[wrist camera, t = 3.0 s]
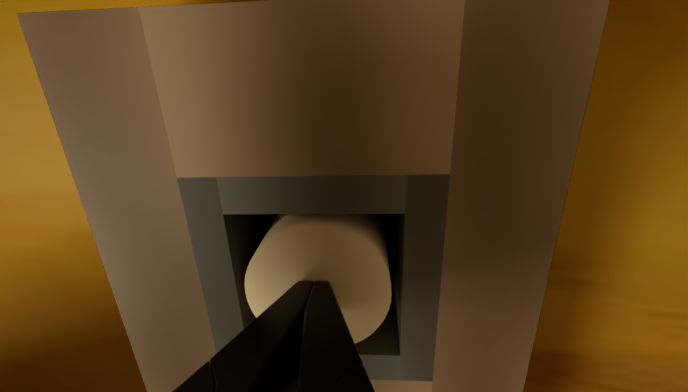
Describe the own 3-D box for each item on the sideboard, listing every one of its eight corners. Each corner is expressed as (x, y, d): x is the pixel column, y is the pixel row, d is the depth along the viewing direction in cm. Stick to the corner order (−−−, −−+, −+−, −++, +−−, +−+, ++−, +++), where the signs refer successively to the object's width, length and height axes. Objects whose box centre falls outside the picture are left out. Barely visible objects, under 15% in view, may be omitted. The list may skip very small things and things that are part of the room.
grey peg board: (253, 488, 21) (221, 607, 17) (154, 33, 12) (17, 13, 7) (446, 499, 20) (470, 628, 16) (508, 17, 11) (613, -18, 6)
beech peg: (289, 260, 14) (254, 348, 10) (279, 171, 13) (234, 227, 9) (382, 261, 14) (390, 351, 10) (383, 169, 13) (392, 226, 8)
